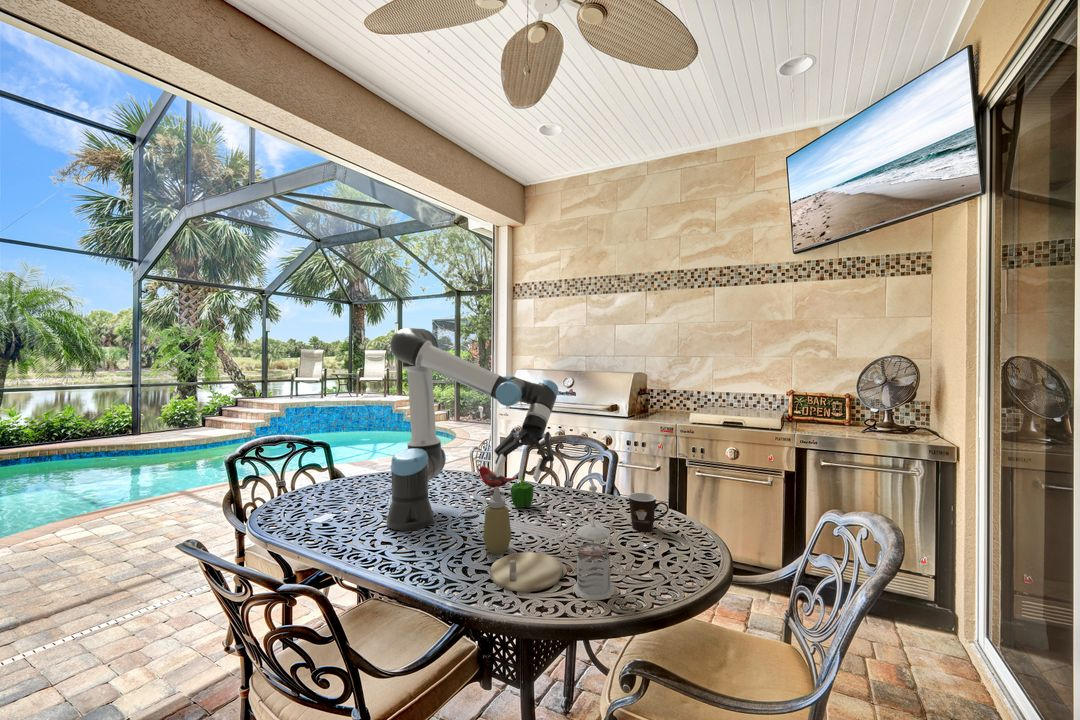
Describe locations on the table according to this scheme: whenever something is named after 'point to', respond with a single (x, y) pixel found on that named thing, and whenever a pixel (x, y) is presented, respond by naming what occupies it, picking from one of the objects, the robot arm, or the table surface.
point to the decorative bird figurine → (493, 478)
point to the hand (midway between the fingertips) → (515, 477)
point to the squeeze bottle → (497, 525)
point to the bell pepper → (522, 494)
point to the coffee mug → (643, 511)
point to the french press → (597, 581)
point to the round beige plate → (526, 571)
